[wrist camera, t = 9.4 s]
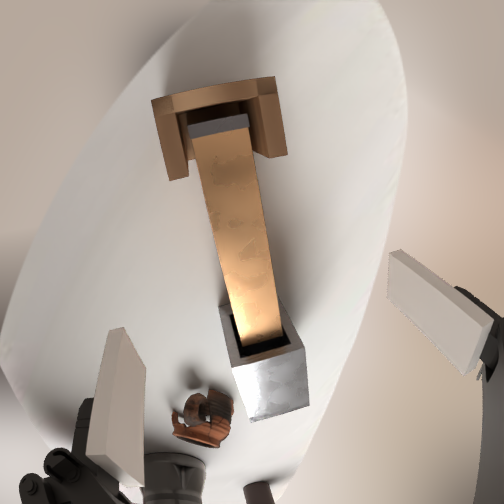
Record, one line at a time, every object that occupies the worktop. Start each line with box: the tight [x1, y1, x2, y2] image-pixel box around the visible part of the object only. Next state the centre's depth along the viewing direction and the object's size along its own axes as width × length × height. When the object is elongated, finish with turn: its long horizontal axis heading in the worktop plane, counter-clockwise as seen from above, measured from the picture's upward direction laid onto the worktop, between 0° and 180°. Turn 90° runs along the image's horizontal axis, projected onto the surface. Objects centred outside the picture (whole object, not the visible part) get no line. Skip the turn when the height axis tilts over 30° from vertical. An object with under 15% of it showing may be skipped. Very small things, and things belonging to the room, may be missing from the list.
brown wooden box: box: [151, 76, 288, 181], centre depth 23 cm, size 8×6×10 cm
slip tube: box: [187, 114, 283, 346], centre depth 27 cm, size 4×20×6 cm, turn 10°
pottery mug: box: [172, 389, 234, 448], centre depth 40 cm, size 12×10×8 cm
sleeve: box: [218, 293, 309, 423], centre depth 34 cm, size 7×10×10 cm
